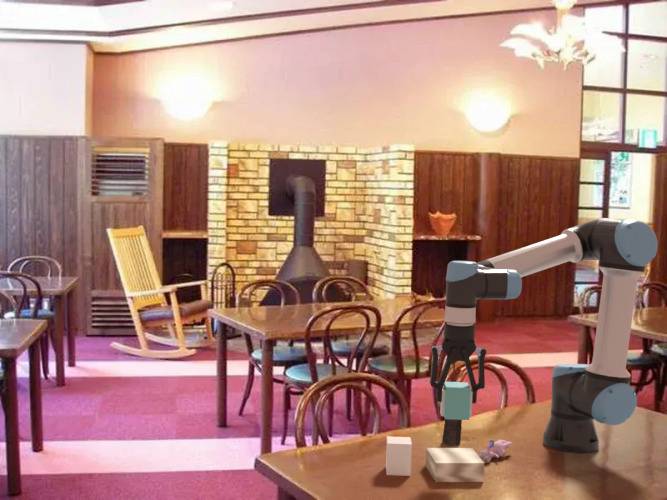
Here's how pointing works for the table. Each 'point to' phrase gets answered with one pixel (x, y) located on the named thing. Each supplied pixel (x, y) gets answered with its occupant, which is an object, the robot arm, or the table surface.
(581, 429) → the robot arm
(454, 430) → the butter churn
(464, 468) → the birch base
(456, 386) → the teal block
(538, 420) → the table surface
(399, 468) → the off-white block
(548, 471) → the table surface
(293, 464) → the table surface
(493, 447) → the pink animal figurine
